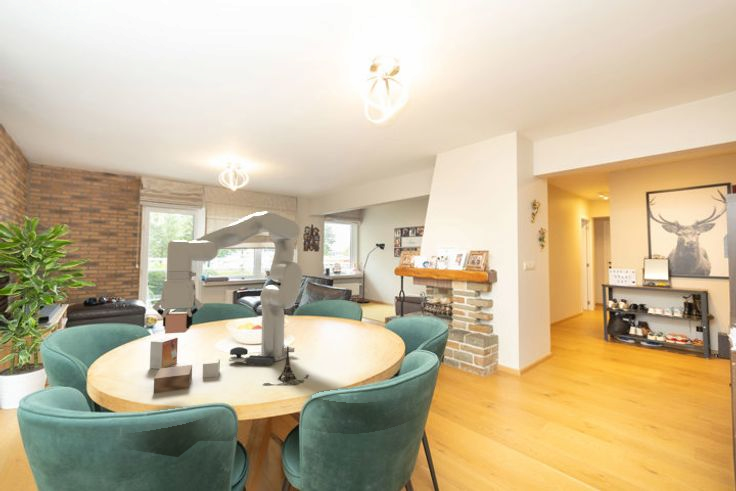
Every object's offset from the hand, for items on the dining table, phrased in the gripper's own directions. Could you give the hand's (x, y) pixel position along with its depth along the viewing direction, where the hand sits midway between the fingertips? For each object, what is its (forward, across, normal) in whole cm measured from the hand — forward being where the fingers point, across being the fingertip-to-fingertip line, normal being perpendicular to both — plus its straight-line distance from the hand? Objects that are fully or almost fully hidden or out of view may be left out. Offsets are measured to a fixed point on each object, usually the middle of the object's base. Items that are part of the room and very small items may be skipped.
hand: (177, 327), depth 112 cm
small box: (+20, +10, -22) cm, 31 cm away
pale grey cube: (+20, -10, -7) cm, 23 cm away
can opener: (+20, -24, -16) cm, 35 cm away
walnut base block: (+20, +1, 0) cm, 20 cm away
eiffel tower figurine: (+20, -37, +5) cm, 42 cm away
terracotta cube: (+1, 0, 0) cm, 1 cm away
